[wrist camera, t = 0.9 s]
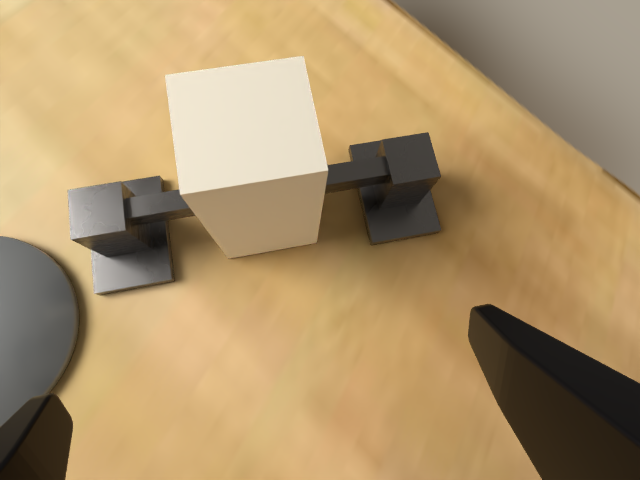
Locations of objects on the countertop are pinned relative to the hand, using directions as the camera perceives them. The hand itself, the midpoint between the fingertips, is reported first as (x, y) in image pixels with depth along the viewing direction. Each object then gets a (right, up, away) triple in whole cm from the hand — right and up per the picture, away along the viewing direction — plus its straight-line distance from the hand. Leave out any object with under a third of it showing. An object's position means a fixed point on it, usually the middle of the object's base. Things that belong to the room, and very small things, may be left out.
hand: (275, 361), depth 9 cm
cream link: (-2, +4, +15) cm, 16 cm away
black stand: (-2, +4, +15) cm, 16 cm away
